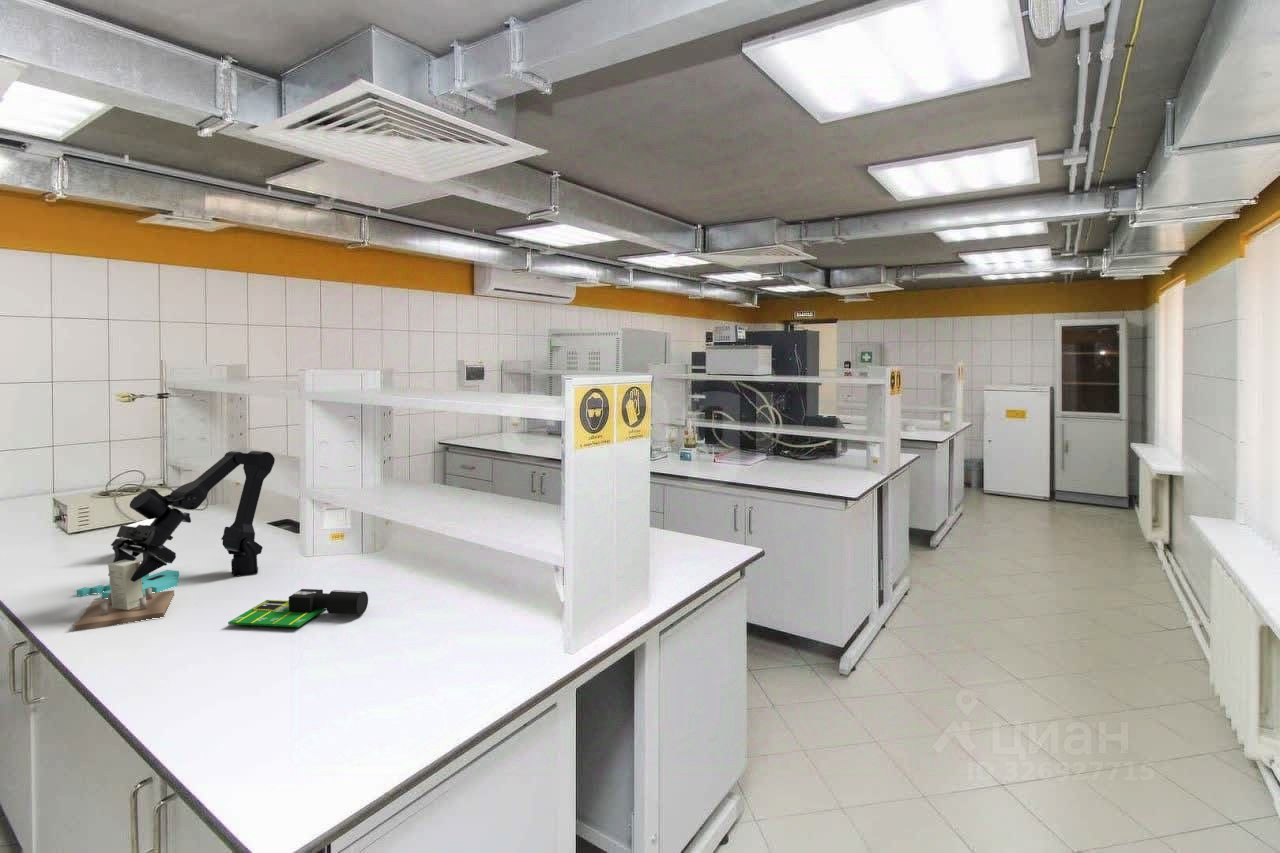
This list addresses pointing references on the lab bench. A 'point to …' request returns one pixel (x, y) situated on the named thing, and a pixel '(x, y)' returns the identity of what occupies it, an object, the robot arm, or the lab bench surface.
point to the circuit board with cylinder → (303, 608)
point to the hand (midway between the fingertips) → (120, 578)
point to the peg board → (124, 611)
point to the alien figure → (154, 581)
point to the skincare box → (124, 584)
